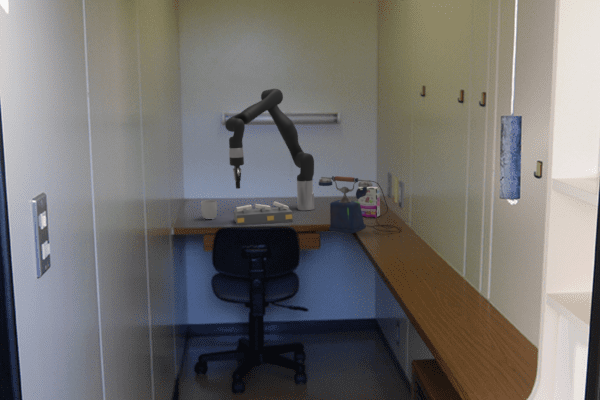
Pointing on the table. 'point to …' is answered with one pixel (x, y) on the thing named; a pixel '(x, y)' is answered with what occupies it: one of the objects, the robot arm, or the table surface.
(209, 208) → the mug
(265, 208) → the rocker middle
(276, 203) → the plate
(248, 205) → the rocker
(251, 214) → the switch unit
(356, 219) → the rotary telephone
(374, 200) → the candy bar box
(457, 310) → the table surface
